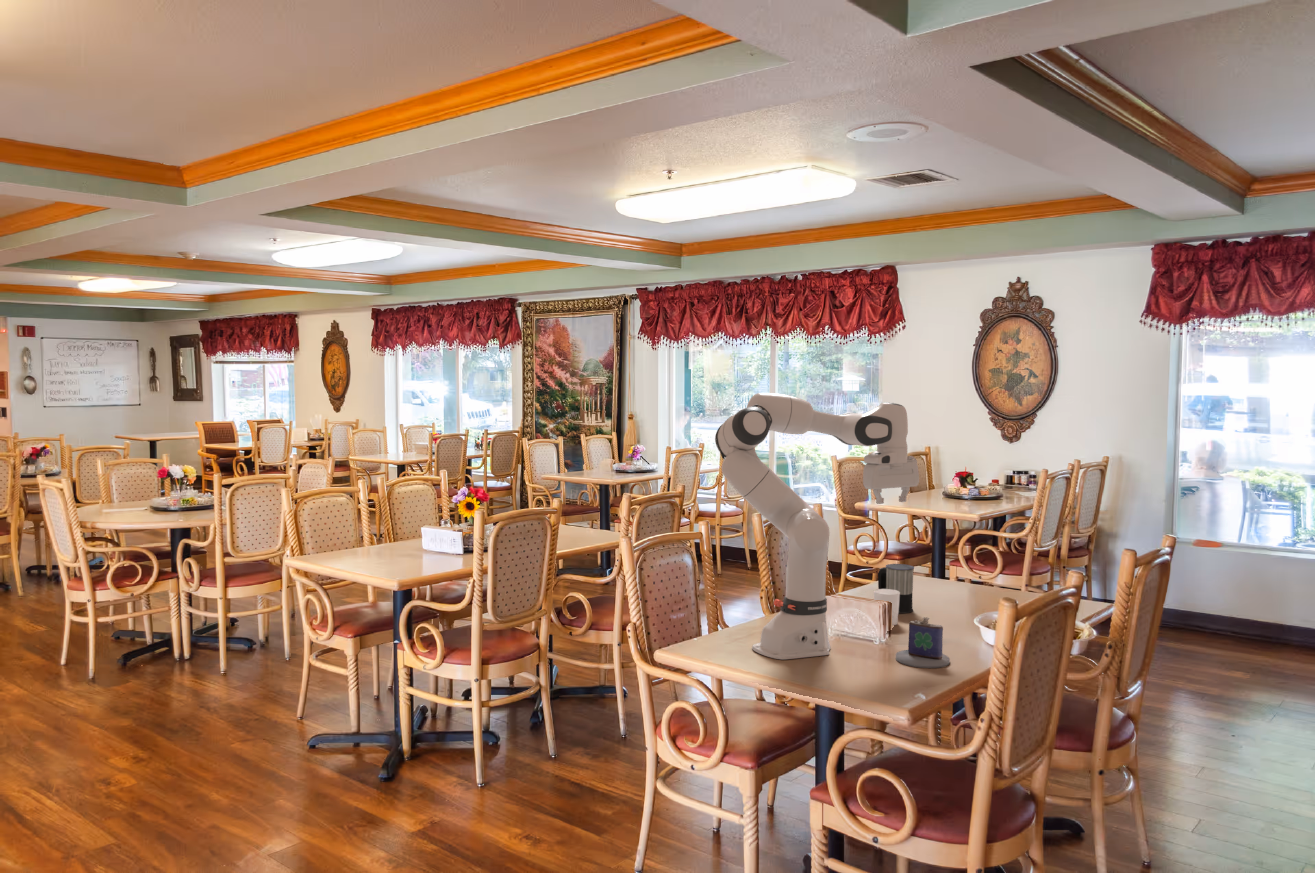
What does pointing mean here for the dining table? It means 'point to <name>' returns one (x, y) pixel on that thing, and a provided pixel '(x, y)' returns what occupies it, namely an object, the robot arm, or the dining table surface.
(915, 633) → the flask
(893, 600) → the white cup
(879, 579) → the milk frother
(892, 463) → the robot arm
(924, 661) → the plate
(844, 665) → the dining table surface
